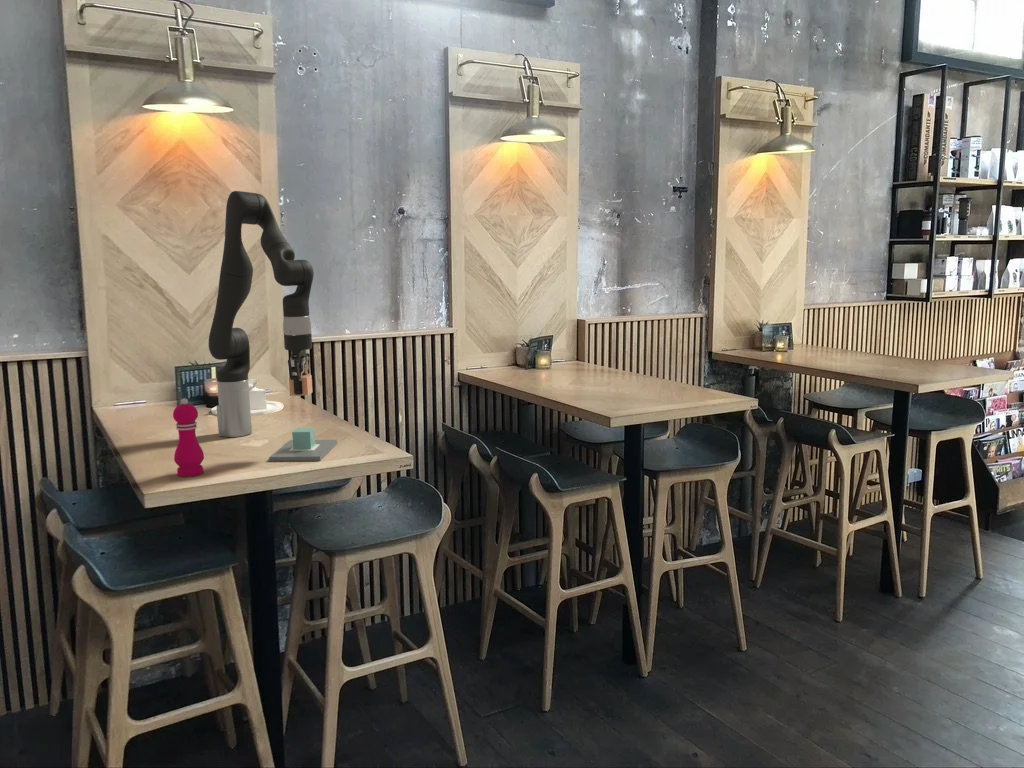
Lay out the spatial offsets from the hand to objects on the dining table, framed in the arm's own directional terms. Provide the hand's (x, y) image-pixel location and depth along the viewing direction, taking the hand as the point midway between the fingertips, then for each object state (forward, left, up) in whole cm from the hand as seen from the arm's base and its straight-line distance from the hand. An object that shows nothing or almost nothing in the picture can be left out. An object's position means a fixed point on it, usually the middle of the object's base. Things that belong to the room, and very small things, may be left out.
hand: (301, 392), depth 239 cm
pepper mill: (-24, -22, -18) cm, 37 cm away
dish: (-38, +64, -18) cm, 77 cm away
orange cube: (0, 0, 0) cm, 0 cm away
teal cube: (0, 0, -16) cm, 16 cm away
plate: (0, 0, -17) cm, 17 cm away
